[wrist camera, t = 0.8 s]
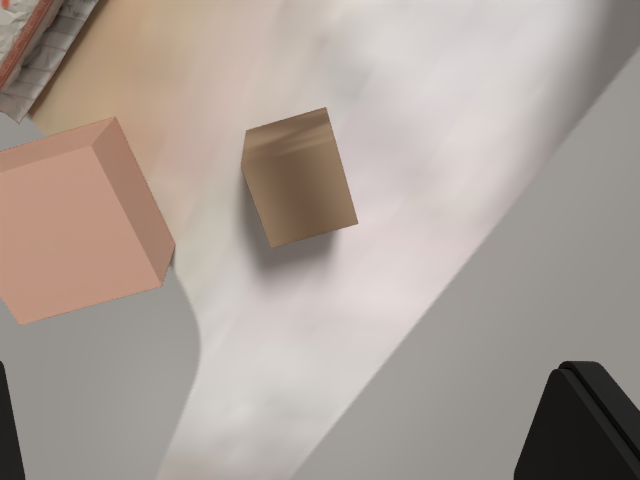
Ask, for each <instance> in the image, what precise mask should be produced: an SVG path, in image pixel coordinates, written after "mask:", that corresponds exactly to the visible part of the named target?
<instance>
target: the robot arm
mask: <svg viewBox="0 0 640 480" xmlns="http://www.w3.org/2000/svg"><path fill="white" fill-rule="evenodd" d="M0 480H25V473H24V468H23V463H22V457H21V452H20V447H19V442H18V437H17V431H16V426H15V421H14V416H13V410H12V405H11V400H10V395H9V389H8V384H7V379H6V374H5V369H4V365H3V363H2V362H1V361H0ZM514 480H640V411H639V410H638V409H637V408H636V406H635V405H634V404H633V403H632V401H631V400H630V399H629V398H628V397H627V395H626V394H625V393H624V392H623V390H622V389H621V388H620V387H619V386H618V385H617V383H616V382H615V381H614V380H613V378H612V377H611V376H610V375H609V373H608V372H607V371H606V370H605V369H604V367H603V366H601V365H600V364H599V363H597V362H593V361H592V362H589V361H565V362H563V363H562V364H560V366H559V367H558V369H555V370H553V371H552V372H551V374H550V376H549V378H548V381H547V384H546V386H545V389H544V392H543V395H542V397H541V400H540V403H539V405H538V408H537V411H536V414H535V416H534V419H533V422H532V425H531V427H530V430H529V433H528V436H527V438H526V441H525V444H524V447H523V449H522V452H521V455H520V457H519V460H518V463H517V466H516V468H515V471H514Z"/></svg>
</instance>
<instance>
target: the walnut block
mask: <svg viewBox="0 0 640 480" xmlns="http://www.w3.org/2000/svg"><path fill="white" fill-rule="evenodd" d="M241 169H242V171H243V174H244V177H245V179H246V182H247V185H248V187H249V190H250V193H251V195H252V198H253V201H254V203H255V206H256V209H257V211H258V214H259V217H260V219H261V222H262V225H263V228H264V230H265V233H266V236H267V238H268V241H269V244H270V246H271V248H273V247H276V246H280V245H284V244H287V243H291V242H294V241H298V240H302V239H305V238H309V237H312V236H316V235H320V234H323V233H327V232H330V231H334V230H338V229H341V228H345V227H348V226H352V225H356V224H358V220H357V217H356V213H355V210H354V206H353V202H352V199H351V195H350V192H349V188H348V184H347V181H346V177H345V173H344V170H343V166H342V163H341V159H340V155H339V152H338V148H337V144H336V141H335V137H334V134H333V130H332V127H331V123H330V120H329V116H328V113H327V109H326V107H324V108H321V109H318V110H314V111H311V112H307V113H304V114H301V115H297V116H294V117H290V118H287V119H284V120H280V121H277V122H273V123H270V124H267V125H263V126H260V127H256V128H253V129H250V130H246V135H245V142H244V149H243V156H242V163H241Z"/></svg>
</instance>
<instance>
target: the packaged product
mask: <svg viewBox="0 0 640 480" xmlns="http://www.w3.org/2000/svg"><path fill="white" fill-rule="evenodd" d="M98 1H99V0H0V112H3V113H6V114H7V115H8V116H9V117H11V118H12V119H14V120H15V121H16V122H17V123H18V124H19V123H20V122H21V120H22V119H23V118H24V116H25V115H26V113H27V112H28V110H29V109H30V107H31V106H32V105H33V103H34V102H35V100H36V99H37V98H38V96H39V95H40V93H41V92H42V90H43V89H44V88H45V86H46V85H47V83H48V82H49V80H50V79H51V77H52V76H53V75H54V73H55V72H56V70H57V69H58V67H59V65H60V63H61V61H62V59H63V57H64V56H65V54H66V52H67V50H68V49H69V47H70V46H71V44H72V42H73V41H74V39H75V38H76V36H77V34H78V33H79V31H80V30H81V28H82V26H83V25H84V23H85V22H86V20H87V18H88V17H89V15H90V14H91V12H92V10H93V9H94V7H95V6H96V4H97V2H98Z"/></svg>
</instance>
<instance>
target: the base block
mask: <svg viewBox="0 0 640 480" xmlns="http://www.w3.org/2000/svg"><path fill="white" fill-rule="evenodd" d="M174 247H175V243H174V240H173V238H172V236H171V234H170V232H169V230H168V228H167V226H166V223H165V221H164V219H163V217H162V215H161V213H160V211H159V209H158V206H157V204H156V202H155V200H154V198H153V196H152V194H151V191H150V189H149V187H148V185H147V183H146V181H145V179H144V177H143V174H142V172H141V170H140V168H139V166H138V164H137V162H136V160H135V157H134V155H133V153H132V151H131V149H130V147H129V145H128V143H127V140H126V138H125V136H124V134H123V132H122V130H121V128H120V126H119V123H118V121H117V119H116V117H113V118H109V119H106V120H103V121H99V122H96V123H93V124H89V125H86V126H83V127H80V128H76V129H73V130H70V131H66V132H63V133H60V134H56V135H53V136H50V137H46V138H43V139H40V140H36V141H33V142H30V143H27V144H23V145H20V146H16V147H13V148H10V149H7V150H3V151H0V297H1V298H2V300H3V301H4V303H5V304H6V305H7V307H8V308H9V310H10V312H11V313H12V314H13V316H14V317H15V319H16V320H17V322H18V323H19V325H24V324H27V323H31V322H34V321H38V320H42V319H45V318H49V317H52V316H56V315H60V314H63V313H67V312H70V311H74V310H78V309H82V308H85V307H89V306H92V305H96V304H99V303H103V302H107V301H110V300H114V299H118V298H121V297H125V296H129V295H132V294H135V293H139V292H143V291H147V290H150V289H154V288H157V287H161V286H162V285H163V282H164V279H165V276H166V272H167V269H168V266H169V263H170V260H171V257H172V253H173V250H174Z"/></svg>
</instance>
